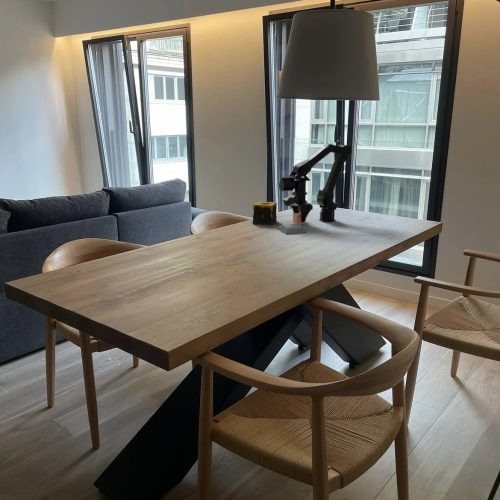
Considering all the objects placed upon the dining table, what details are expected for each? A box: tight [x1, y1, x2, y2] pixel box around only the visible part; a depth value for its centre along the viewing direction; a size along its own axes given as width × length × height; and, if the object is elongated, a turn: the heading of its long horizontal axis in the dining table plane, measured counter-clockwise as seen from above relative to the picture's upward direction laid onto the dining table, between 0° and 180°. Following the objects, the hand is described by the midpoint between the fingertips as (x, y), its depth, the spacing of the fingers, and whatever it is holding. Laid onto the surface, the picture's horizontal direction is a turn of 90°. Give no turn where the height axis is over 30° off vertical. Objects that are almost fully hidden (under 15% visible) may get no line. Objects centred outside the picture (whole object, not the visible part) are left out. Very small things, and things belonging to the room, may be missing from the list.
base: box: [277, 223, 307, 235], centre depth 230 cm, size 10×10×2 cm
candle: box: [252, 201, 278, 226], centre depth 247 cm, size 10×10×10 cm
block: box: [292, 213, 307, 225], centre depth 246 cm, size 5×5×5 cm
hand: (299, 221), depth 246 cm, fingers open, 8 cm apart
